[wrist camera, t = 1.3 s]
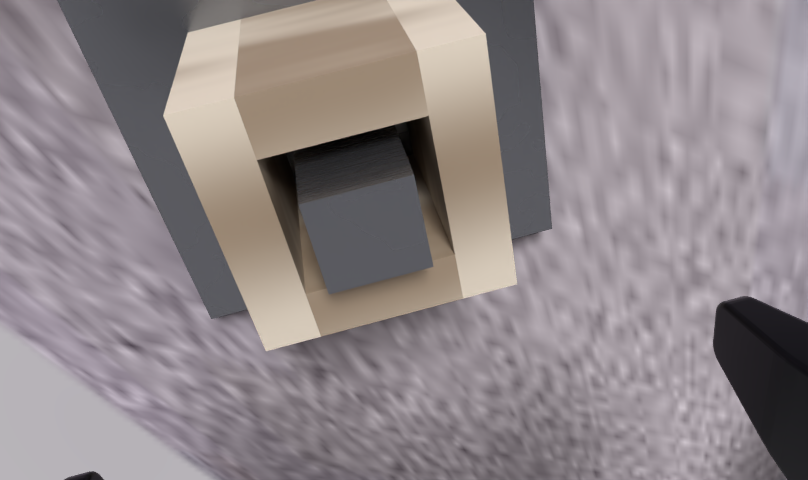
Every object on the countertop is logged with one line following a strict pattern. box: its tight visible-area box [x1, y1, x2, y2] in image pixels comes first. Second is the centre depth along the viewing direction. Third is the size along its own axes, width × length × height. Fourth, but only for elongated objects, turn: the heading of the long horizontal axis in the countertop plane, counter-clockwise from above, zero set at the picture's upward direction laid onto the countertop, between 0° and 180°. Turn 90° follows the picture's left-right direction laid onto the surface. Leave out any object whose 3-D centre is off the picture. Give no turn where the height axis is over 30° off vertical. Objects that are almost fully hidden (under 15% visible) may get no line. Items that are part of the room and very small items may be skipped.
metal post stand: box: [57, 0, 552, 319], centre depth 16 cm, size 11×11×7 cm
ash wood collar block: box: [163, 0, 517, 351], centre depth 16 cm, size 6×6×5 cm
